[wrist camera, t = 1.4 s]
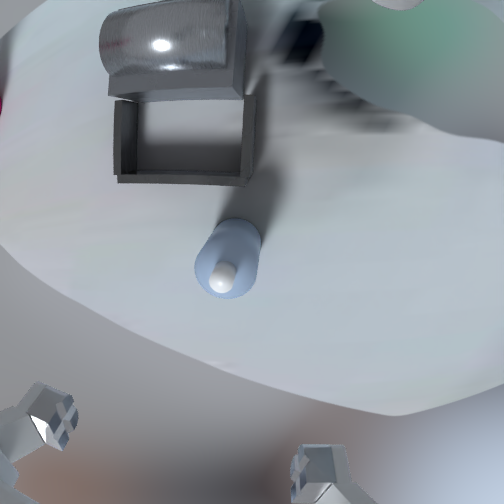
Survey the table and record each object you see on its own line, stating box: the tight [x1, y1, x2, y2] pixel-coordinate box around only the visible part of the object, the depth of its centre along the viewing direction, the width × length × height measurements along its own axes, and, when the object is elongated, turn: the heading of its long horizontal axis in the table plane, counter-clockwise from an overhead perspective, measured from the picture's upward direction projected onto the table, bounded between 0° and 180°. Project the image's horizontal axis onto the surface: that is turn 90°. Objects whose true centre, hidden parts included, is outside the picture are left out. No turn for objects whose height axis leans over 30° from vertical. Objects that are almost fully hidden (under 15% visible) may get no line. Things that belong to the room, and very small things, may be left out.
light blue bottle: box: [195, 218, 261, 299], centre depth 27 cm, size 5×5×9 cm
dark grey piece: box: [99, 0, 257, 187], centre depth 21 cm, size 13×16×10 cm
